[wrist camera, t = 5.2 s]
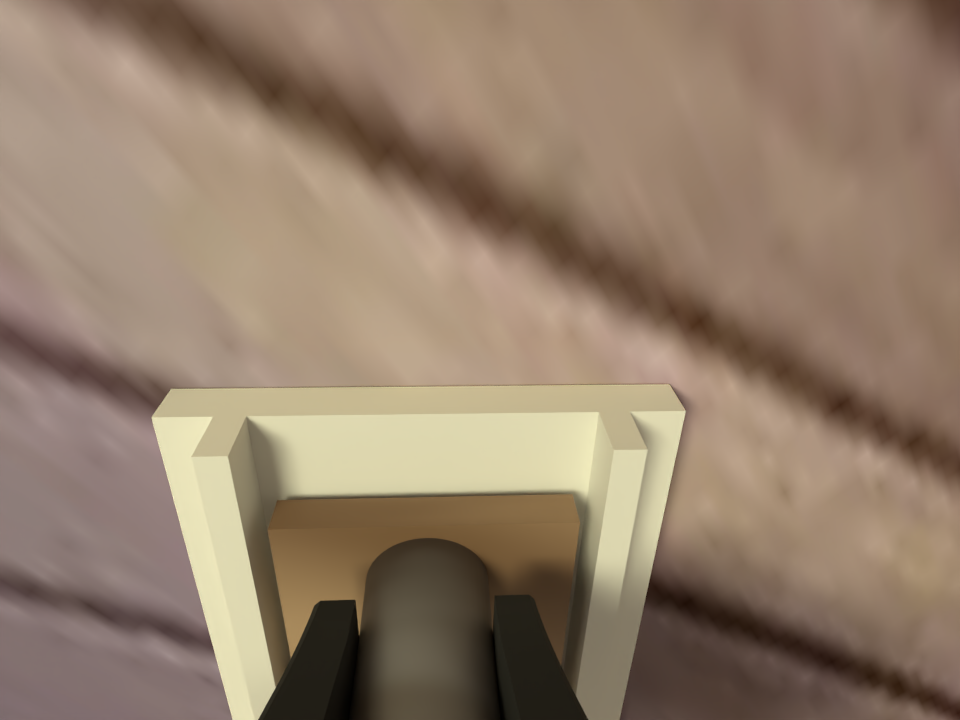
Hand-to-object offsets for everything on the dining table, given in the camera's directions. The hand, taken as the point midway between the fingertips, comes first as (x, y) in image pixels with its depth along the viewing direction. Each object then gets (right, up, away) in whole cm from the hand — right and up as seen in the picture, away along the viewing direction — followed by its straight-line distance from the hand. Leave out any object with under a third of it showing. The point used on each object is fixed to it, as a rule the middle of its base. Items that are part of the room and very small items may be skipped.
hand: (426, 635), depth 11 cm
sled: (0, -5, +5) cm, 7 cm away
